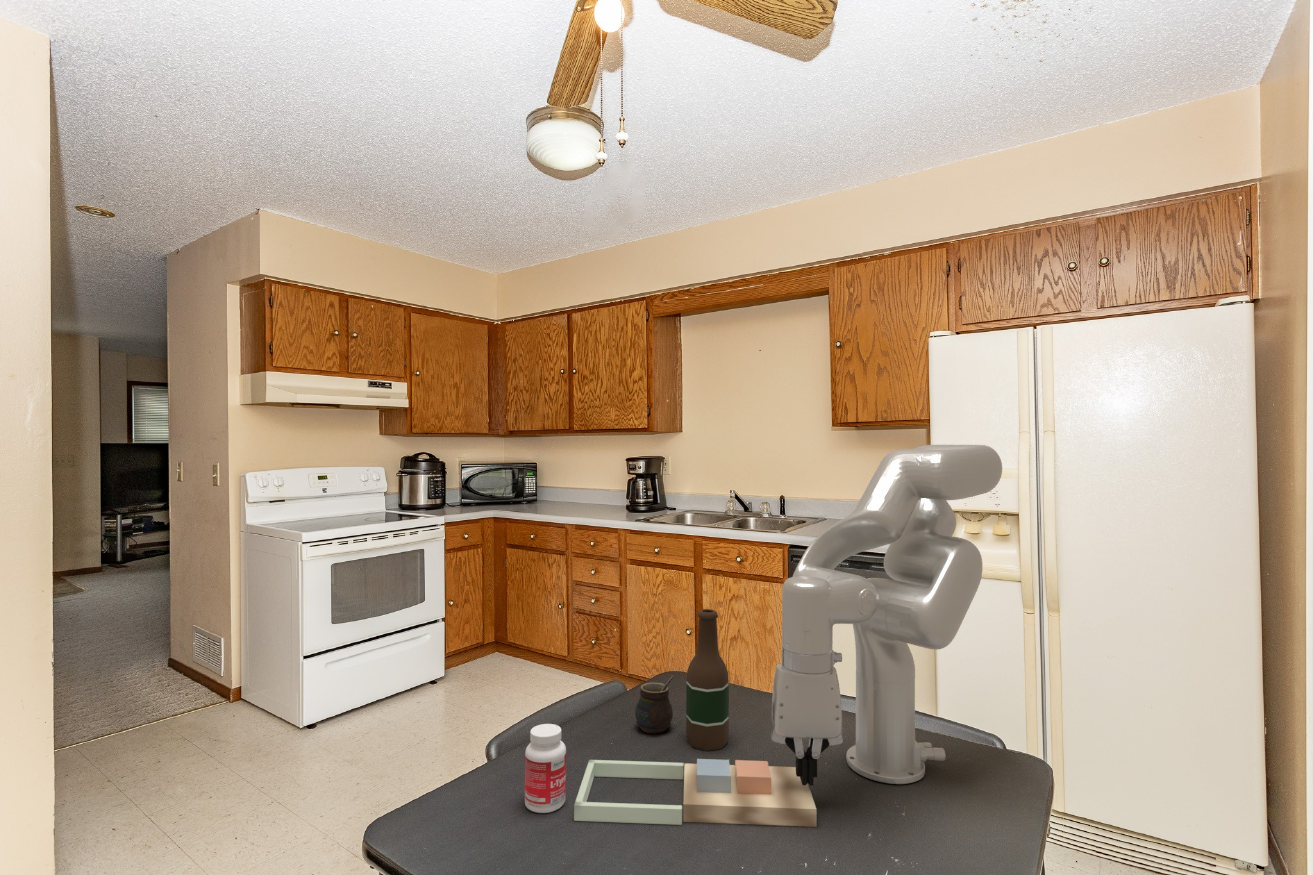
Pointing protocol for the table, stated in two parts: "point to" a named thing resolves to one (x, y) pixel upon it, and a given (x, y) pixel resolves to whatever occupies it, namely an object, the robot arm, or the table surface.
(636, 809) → the u-shaped frame
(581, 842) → the table surface
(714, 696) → the beer bottle
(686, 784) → the wooden cutting board
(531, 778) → the pill bottle
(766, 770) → the terracotta tile
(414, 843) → the table surface
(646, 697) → the mate gourd
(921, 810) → the table surface
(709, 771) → the slate tile
